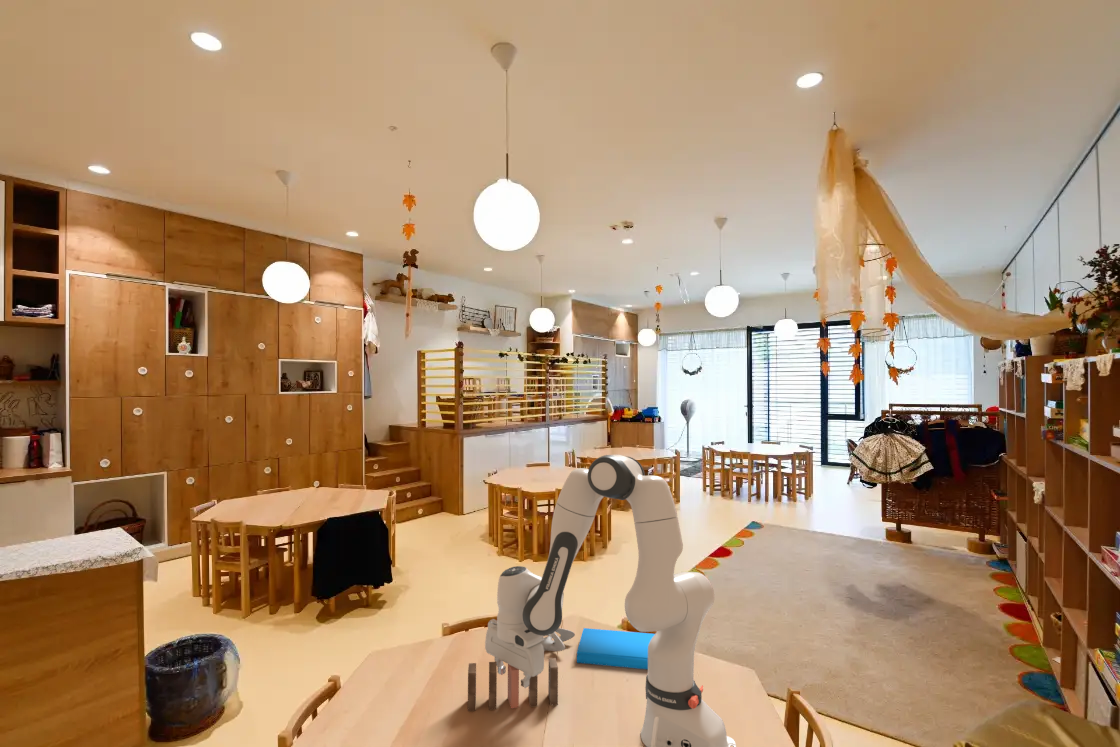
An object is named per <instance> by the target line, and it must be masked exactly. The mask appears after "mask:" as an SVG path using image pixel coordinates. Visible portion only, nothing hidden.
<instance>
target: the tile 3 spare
mask: <svg viewBox="0 0 1120 747" xmlns="http://www.w3.org/2000/svg"><path fill="white" fill-rule="evenodd" d="M519 693H520V670H519V669H517V668H515V667H513V666H511V665H509V664H507V700H508V703H509V705H510V708H511V709H518V708H520V707H519V706H520V701H519V700H520V694H519Z"/></svg>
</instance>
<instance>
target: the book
mask: <svg viewBox="0 0 1120 747" xmlns="http://www.w3.org/2000/svg"><path fill="white" fill-rule="evenodd" d="M655 634H656V633H649V632H637V631H624V630H612V629H601V628H599V629H598V628H585V627H583V629H582V633H581V636H580V639H579V644H578V647H577V650H576V663H577V664H586V665H587V664H588V665H597V666H607V667H608V666H609V667H619V668H628V669H629V668H631V669H638V670H639V669H640V670H648V646H649V643H650V641H651V639H652V637H653V636H654V635H655Z"/></svg>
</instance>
